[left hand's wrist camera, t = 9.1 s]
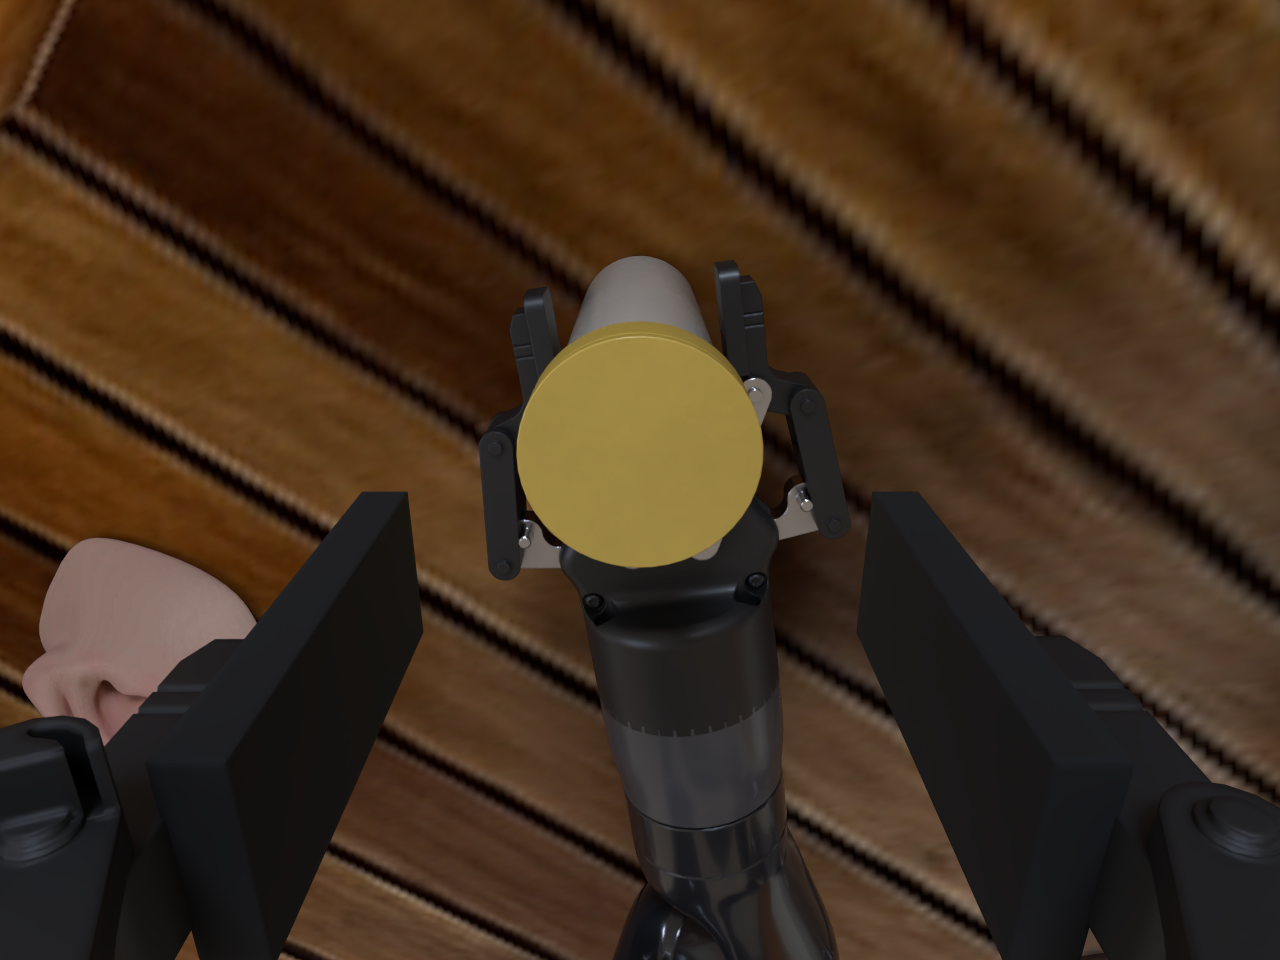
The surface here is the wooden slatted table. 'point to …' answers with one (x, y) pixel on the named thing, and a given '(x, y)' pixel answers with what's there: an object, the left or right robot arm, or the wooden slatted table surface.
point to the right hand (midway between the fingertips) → (629, 279)
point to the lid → (639, 445)
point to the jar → (640, 298)
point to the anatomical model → (123, 629)
